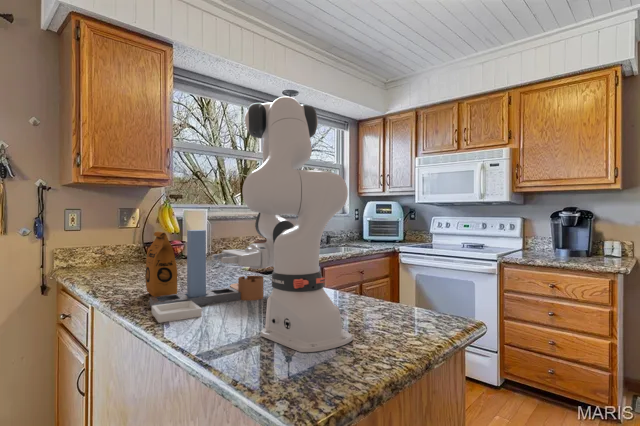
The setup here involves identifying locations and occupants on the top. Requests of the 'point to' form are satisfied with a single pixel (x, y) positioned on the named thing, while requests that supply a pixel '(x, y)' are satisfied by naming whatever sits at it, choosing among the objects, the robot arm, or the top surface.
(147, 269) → the coffee package
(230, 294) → the rail
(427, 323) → the top surface
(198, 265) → the blue-grey rectangular block
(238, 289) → the bracket
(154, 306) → the tray
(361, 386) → the top surface
